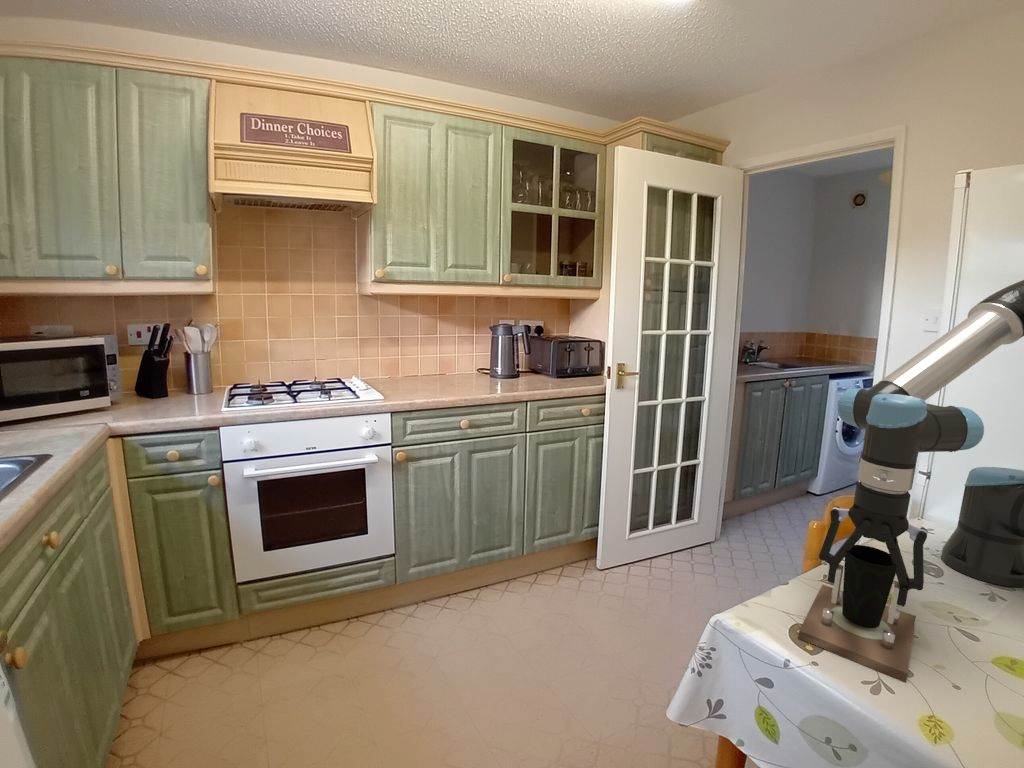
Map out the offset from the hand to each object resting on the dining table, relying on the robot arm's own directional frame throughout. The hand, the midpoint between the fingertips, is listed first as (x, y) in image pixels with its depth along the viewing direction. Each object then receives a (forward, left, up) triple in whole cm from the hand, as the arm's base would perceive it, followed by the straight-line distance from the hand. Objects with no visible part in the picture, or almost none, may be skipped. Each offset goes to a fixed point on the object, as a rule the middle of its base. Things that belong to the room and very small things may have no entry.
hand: (862, 609), depth 93 cm
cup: (0, 0, -2) cm, 2 cm away
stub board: (0, 0, -4) cm, 4 cm away
